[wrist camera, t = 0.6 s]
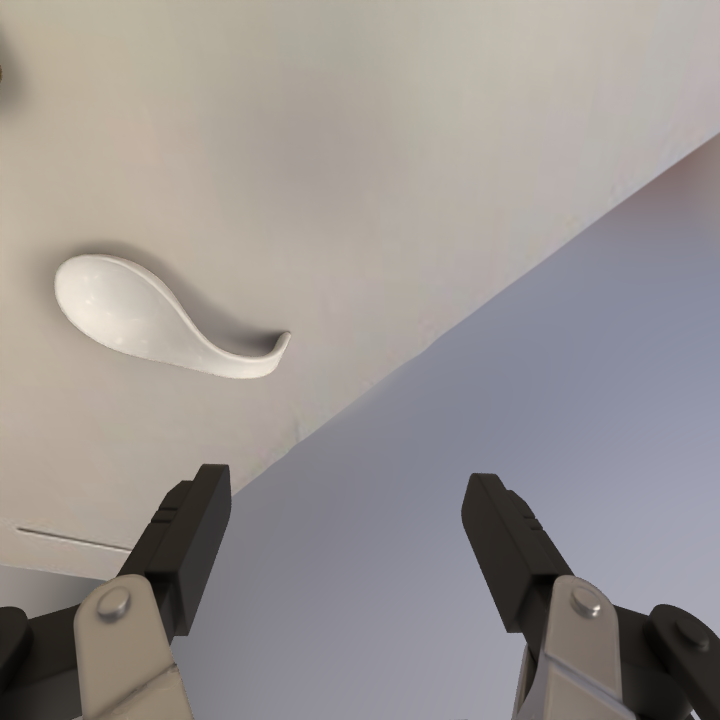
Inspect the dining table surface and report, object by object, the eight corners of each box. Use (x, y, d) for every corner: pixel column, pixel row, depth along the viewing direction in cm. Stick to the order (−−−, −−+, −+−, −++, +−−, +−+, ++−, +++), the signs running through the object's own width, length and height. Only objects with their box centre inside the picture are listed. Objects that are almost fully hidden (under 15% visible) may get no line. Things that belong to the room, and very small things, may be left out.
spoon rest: (72, 314, 40) (31, 354, 34) (70, 220, 33) (19, 251, 28) (272, 373, 48) (265, 412, 42) (302, 307, 41) (299, 344, 36)
